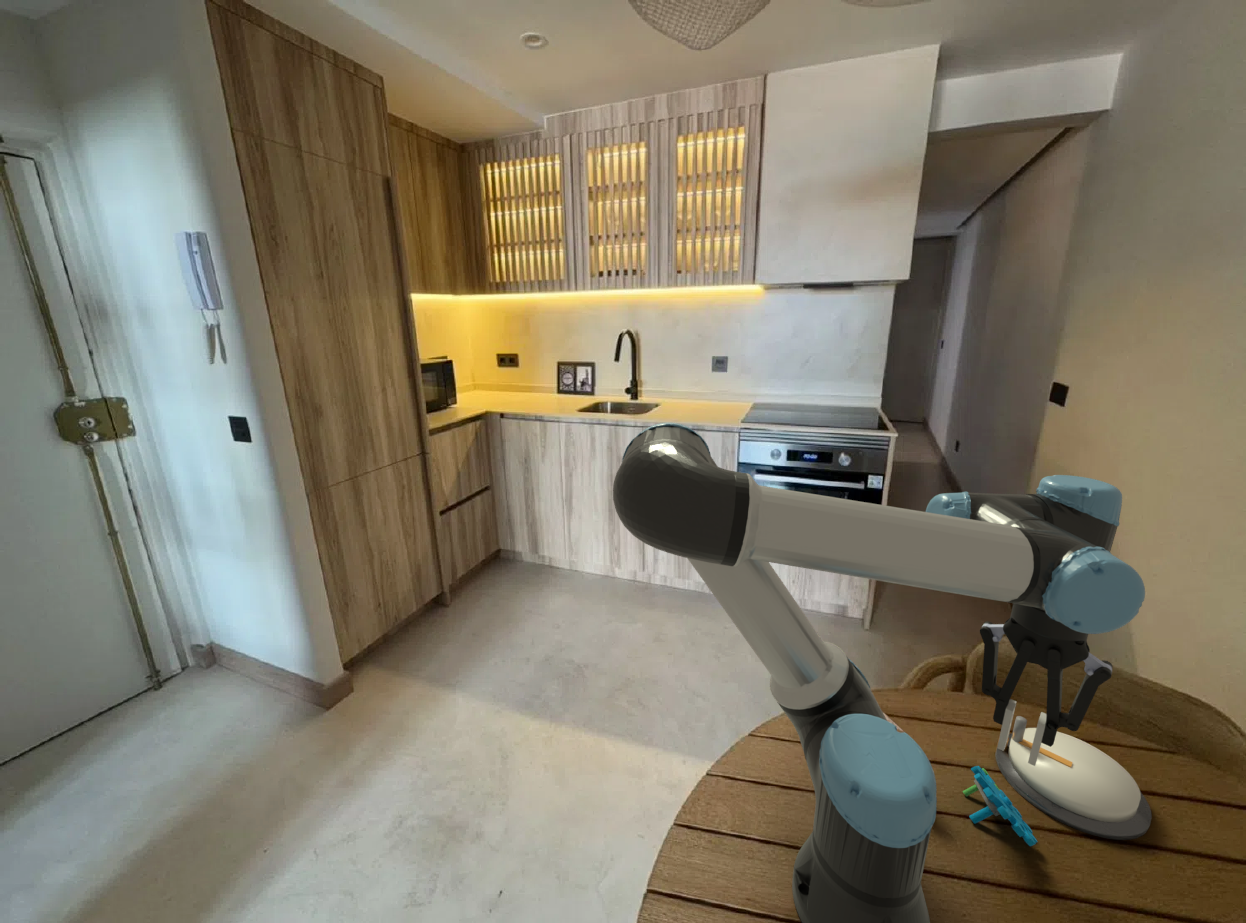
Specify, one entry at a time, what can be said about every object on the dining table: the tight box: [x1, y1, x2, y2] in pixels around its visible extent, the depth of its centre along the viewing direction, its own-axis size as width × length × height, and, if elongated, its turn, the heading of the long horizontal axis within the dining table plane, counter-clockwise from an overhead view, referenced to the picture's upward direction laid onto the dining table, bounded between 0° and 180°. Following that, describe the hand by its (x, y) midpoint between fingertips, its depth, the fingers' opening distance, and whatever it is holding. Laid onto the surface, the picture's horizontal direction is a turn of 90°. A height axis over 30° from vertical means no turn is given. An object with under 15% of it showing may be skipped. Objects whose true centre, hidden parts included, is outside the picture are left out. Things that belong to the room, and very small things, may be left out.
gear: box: [962, 765, 1038, 847], centre depth 71 cm, size 11×6×10 cm
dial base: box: [995, 733, 1153, 841], centre depth 77 cm, size 18×18×2 cm
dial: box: [1008, 715, 1142, 822], centre depth 76 cm, size 15×15×6 cm
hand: (1017, 751), depth 68 cm, fingers open, 3 cm apart
